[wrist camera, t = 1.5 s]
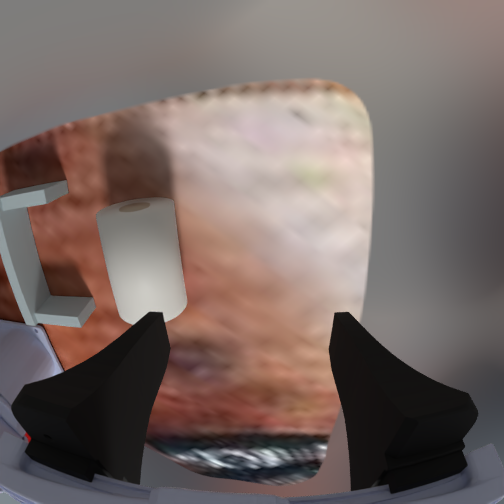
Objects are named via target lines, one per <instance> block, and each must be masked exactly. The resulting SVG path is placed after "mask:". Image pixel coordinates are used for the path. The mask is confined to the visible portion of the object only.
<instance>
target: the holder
mask: <svg viewBox="0 0 504 504" xmlns="http://www.w3.org/2000/svg"><path fill="white" fill-rule="evenodd" d="M67 193H69V192H68V186H67V180H64V181H58V182H52V183H47V184H42V185H37V186H32V187H27V188H22V189H17V190H13V191H11V192H9V193H6V194H4V195H2V196H0V253H1V257H2V260H3V263H4V267H5V270H6V273H7V276H8V279H9V282H10V284H11V287H12V290H13V293H14V295H15V298H16V301H17V303H18V306H19V308H20V311H21V313H22V316H23V318H24V320H25V323H26V325H31V326H36V325H37V324H38V323H43V324H52V325H61V326H70V327H80V328H81V327H82V326H83V325H84V323H85V322H86V320H87V319H88V318H89V316H90V315H91V313H92V312H93V311H94V309H95V308H96V306H95V303H94V299H93V297H72V296H52V295H51V294H50V292H49V289H48V286H47V282H46V279H45V276H44V273H43V270H42V266H41V263H40V259H39V256H38V252H37V249H36V245H35V241H34V237H33V233H32V229H31V224H30V220H29V215H28V211H27V207H29V206H35V205H42V204H47V203H49V202H51V201H53V200H55V199H57V198H59V197H61V196H63V195H65V194H67Z"/></svg>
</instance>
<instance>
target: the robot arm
mask: <svg viewBox="0 0 504 504" xmlns="http://www.w3.org/2000/svg"><path fill="white" fill-rule="evenodd" d="M169 353H170V344H169V339H168V335H167V330H166V326H165V321H164V316H163V312H148V313H147V314H146V315H144V316H143V317H142V318H141V319H140V320H139V321H137V322H136V323H135V324H134V325H133V326H132V327H130V328H129V329H128V330H127V331H126V332H125V333H123V334H122V335H121V336H120V337H119V338H117V339H116V340H115V341H113V342H112V343H111V344H109V345H108V346H107V347H106V348H104V349H103V350H101V351H100V352H98V353H97V354H95V355H94V356H92V357H91V358H89V359H87V360H86V361H84V362H82V363H80V364H78V365H76V366H74V367H72V368H70V369H68V370H66V371H64V370H63V369H62V367H61V365H60V363H59V361H58V359H57V356H56V354H55V352H54V350H53V348H52V346H51V344H50V342H49V339H48V337H47V335H46V333H45V330H44V328H43V327H42V326H39V325H36V326H31V325H26V324H25V323H18V322H12V321H5V320H0V493H3V492H6V493H7V494H8V495H10V496H11V497H12V498H14V499H15V500H16V501H18V502H20V503H21V504H496V503H497V502H498V501H500V500H501V499H502V498H504V467H503V465H502V463H501V461H500V458H499V456H498V454H497V451H496V449H495V447H494V445H493V444H488V445H486V446H484V447H481V448H479V449H476V450H474V451H472V452H470V453H468V454H467V455H465V456H464V454H463V452H462V450H463V449H464V448H465V445H464V442H463V440H462V439H463V438H464V437H465V435H466V434H467V433H468V431H469V430H470V429H471V428H472V426H473V425H474V423H475V422H476V420H477V416H478V410H477V408H476V406H475V405H474V403H473V401H472V400H471V397H470V395H469V394H468V393H466V392H463V391H460V390H457V389H454V388H451V387H448V386H446V385H444V384H441V383H439V382H437V381H435V380H432V379H431V378H429V377H427V376H425V375H423V374H421V373H420V372H418V371H416V370H414V369H413V368H411V367H410V366H408V365H407V364H405V363H404V362H402V361H401V360H400V359H398V358H397V357H396V356H394V355H393V354H392V353H390V352H389V351H388V350H387V349H386V348H385V347H383V346H382V345H381V344H380V343H379V342H378V341H377V340H376V339H375V338H374V337H373V336H372V335H371V334H370V333H369V332H367V330H366V329H365V328H364V327H363V326H362V325H361V324H360V323H359V322H358V321H357V320H356V319H355V318H354V317H353V316H352V315H351V314H350V313H349V312H337V313H335V314H334V320H333V327H332V333H331V339H330V345H329V355H330V362H331V368H332V373H333V376H334V380H335V384H336V387H337V391H338V394H339V398H340V401H341V405H342V409H343V413H344V418H345V424H346V431H347V438H348V449H349V460H350V477H351V491H349V492H342V493H334V494H326V495H316V496H303V497H285V498H283V497H279V496H275V495H266V494H247V493H246V494H245V493H225V492H211V491H200V490H192V489H183V488H174V487H160V488H152V487H147V486H142V485H140V475H141V465H142V457H143V450H144V444H145V438H146V432H147V427H148V422H149V418H150V414H151V410H152V407H153V404H154V401H155V399H156V396H157V393H158V390H159V387H160V385H161V382H162V379H163V376H164V373H165V371H166V368H167V363H168V359H169ZM25 433H27V434H28V435H29V436H30V437H31V440H30V442H28V439H27V437H26V436H25Z"/></svg>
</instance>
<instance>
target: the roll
mask: <svg viewBox="0 0 504 504" xmlns="http://www.w3.org/2000/svg"><path fill="white" fill-rule="evenodd" d="M96 219H97V224H98V229H99V234H100V239H101V244H102V249H103V253H104V258H105V262H106V266H107V271H108V275H109V279H110V283H111V286H112V290H113V294H114V298H115V301H116V305H117V308H118V312H119V315H120V317H121V318H122V319H123V320H124V321H126V322H128V323H130V324H133V325H134V324H135V323H136V322H137V321H139V320H140V319H141V318H142V317H143V316H144V315H146V314H147V313H148V312H163V316H164V321H165V322H167V321H169V320H171V319H173V318H175V317H176V316H178V315H179V314H180V313H181V312H182V311H183V310H184V309H185V307H186V305H187V296H186V290H185V284H184V277H183V270H182V263H181V256H180V248H179V241H178V233H177V225H176V216H175V207H174V201H173V200H172V199H169V198H163V197H151V198H139V199H133V200H128V201H123V202H120V203H116V204H113V205H110V206H108V207H106V208H104V209H102V210H100V211H99V212H98V213H97V214H96Z"/></svg>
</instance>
